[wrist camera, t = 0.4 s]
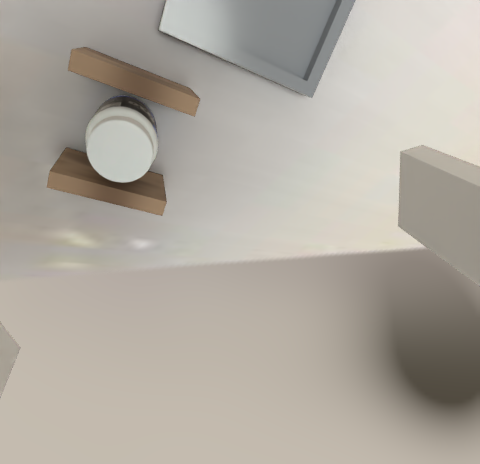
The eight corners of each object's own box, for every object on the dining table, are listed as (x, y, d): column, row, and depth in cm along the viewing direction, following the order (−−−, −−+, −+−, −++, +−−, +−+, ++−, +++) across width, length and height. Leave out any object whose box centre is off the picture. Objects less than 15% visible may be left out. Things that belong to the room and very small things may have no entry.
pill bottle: (166, 135, 30) (174, 165, 23) (120, 163, 30) (112, 202, 23) (133, 82, 28) (130, 98, 20) (82, 113, 28) (61, 139, 21)
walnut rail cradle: (63, 161, 29) (46, 187, 24) (85, 47, 26) (71, 49, 21) (158, 187, 32) (162, 215, 27) (189, 88, 29) (200, 99, 24)
